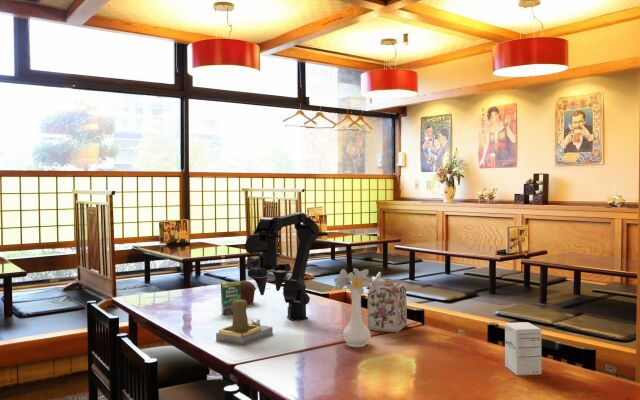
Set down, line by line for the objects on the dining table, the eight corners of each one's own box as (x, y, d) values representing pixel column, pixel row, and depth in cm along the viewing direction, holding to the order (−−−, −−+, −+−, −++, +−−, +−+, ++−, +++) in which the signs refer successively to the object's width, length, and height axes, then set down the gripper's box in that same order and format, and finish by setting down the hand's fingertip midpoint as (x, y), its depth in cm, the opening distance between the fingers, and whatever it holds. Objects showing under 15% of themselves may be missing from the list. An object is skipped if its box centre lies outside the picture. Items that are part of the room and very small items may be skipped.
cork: (239, 334, 178) (239, 302, 178) (227, 332, 182) (227, 300, 181) (252, 331, 183) (252, 299, 182) (240, 328, 186) (240, 297, 186)
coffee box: (222, 315, 217) (221, 283, 217) (221, 313, 220) (220, 282, 220) (241, 313, 220) (241, 282, 220) (239, 311, 223) (239, 280, 223)
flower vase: (390, 342, 175) (389, 267, 175) (351, 354, 163) (350, 273, 162) (362, 334, 185) (361, 263, 184) (323, 345, 172) (322, 269, 172)
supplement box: (504, 366, 150) (503, 322, 149) (529, 365, 150) (529, 321, 150) (516, 375, 142) (515, 329, 142) (542, 374, 143) (542, 328, 143)
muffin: (261, 302, 242) (261, 280, 241) (245, 307, 232) (245, 284, 232) (241, 299, 248) (241, 278, 248) (225, 304, 239) (225, 282, 238)
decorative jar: (407, 325, 197) (407, 277, 196) (398, 333, 186) (398, 282, 186) (377, 322, 202) (376, 275, 201) (366, 330, 191) (366, 280, 191)
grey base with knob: (246, 329, 194) (246, 317, 194) (272, 333, 188) (272, 321, 188) (216, 340, 181) (215, 327, 181) (242, 345, 174) (242, 332, 174)
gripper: (268, 247, 208) (269, 287, 208) (236, 252, 192) (236, 295, 193) (291, 248, 202) (291, 289, 202) (259, 254, 186) (260, 298, 187)
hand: (270, 292), depth 196 cm, fingers open, 9 cm apart
